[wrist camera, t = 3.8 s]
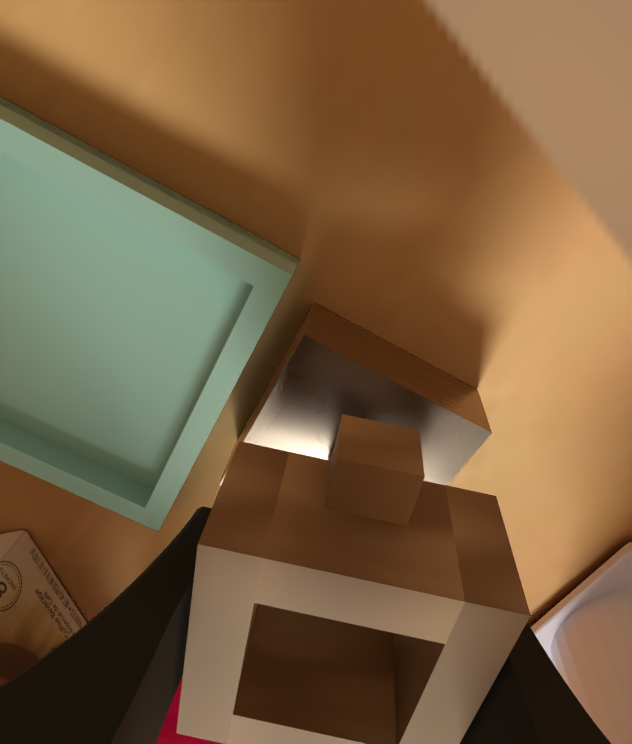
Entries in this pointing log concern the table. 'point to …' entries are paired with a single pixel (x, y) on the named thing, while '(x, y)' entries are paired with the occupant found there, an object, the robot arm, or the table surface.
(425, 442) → the block
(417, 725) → the ring
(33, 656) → the coffee box
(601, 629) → the robot arm
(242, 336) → the tray
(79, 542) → the table surface
